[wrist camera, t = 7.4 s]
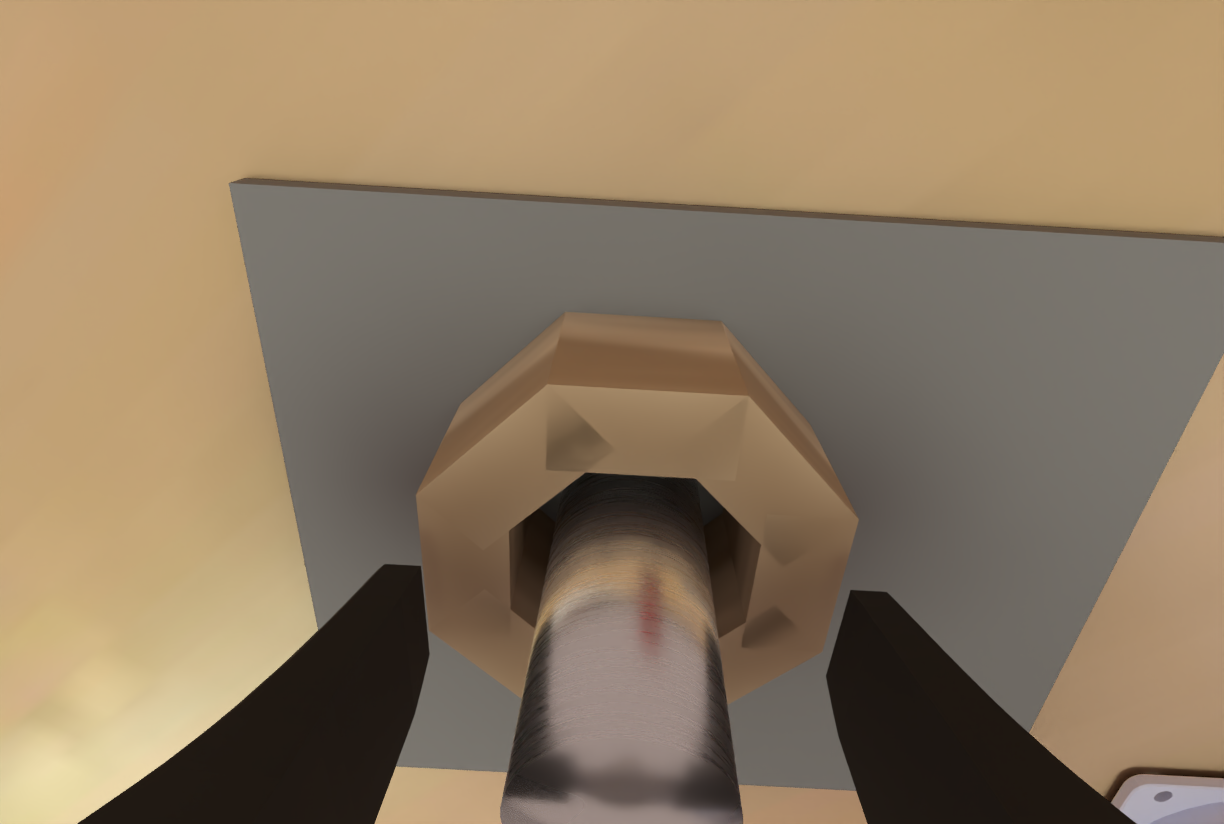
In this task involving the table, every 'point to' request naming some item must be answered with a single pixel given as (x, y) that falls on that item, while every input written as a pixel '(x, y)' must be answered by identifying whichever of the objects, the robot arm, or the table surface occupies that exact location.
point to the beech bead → (634, 445)
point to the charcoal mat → (801, 368)
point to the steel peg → (625, 667)
